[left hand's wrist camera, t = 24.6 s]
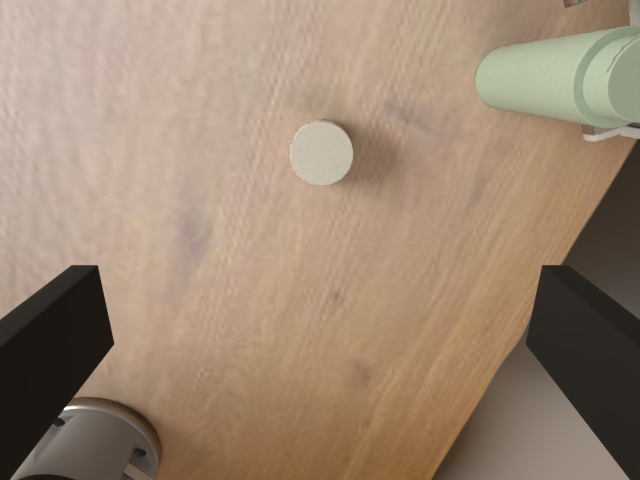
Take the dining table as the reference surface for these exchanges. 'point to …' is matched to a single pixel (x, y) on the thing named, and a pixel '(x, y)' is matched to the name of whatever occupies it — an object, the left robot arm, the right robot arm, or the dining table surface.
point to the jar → (567, 78)
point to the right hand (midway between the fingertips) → (577, 67)
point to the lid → (321, 152)
